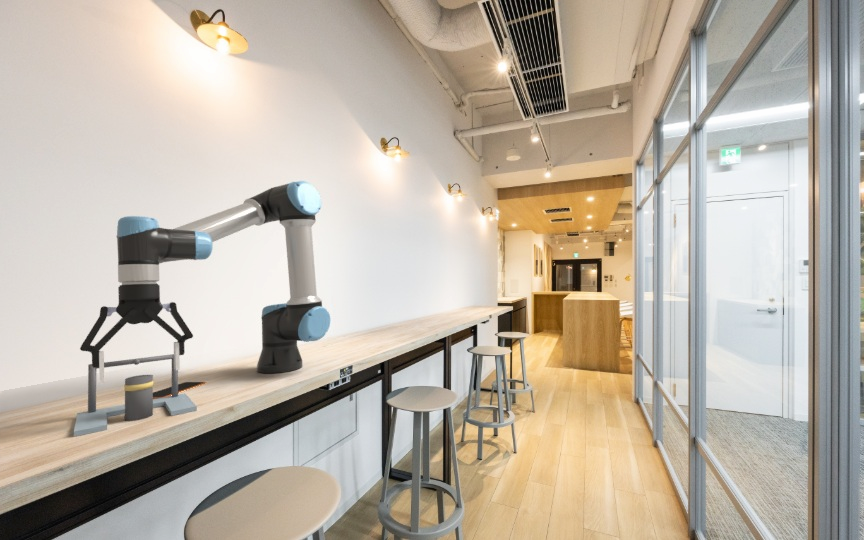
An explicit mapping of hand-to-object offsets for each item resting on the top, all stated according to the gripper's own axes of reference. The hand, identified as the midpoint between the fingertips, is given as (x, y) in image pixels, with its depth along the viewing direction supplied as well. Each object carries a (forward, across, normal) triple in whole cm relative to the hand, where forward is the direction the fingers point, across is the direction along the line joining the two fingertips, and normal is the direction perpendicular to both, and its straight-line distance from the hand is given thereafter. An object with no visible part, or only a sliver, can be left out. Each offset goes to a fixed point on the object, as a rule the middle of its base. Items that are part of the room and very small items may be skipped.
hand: (141, 375), depth 85 cm
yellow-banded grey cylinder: (+9, +1, 0) cm, 9 cm away
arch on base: (+9, +1, -3) cm, 10 cm away
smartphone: (+10, -9, -22) cm, 26 cm away
